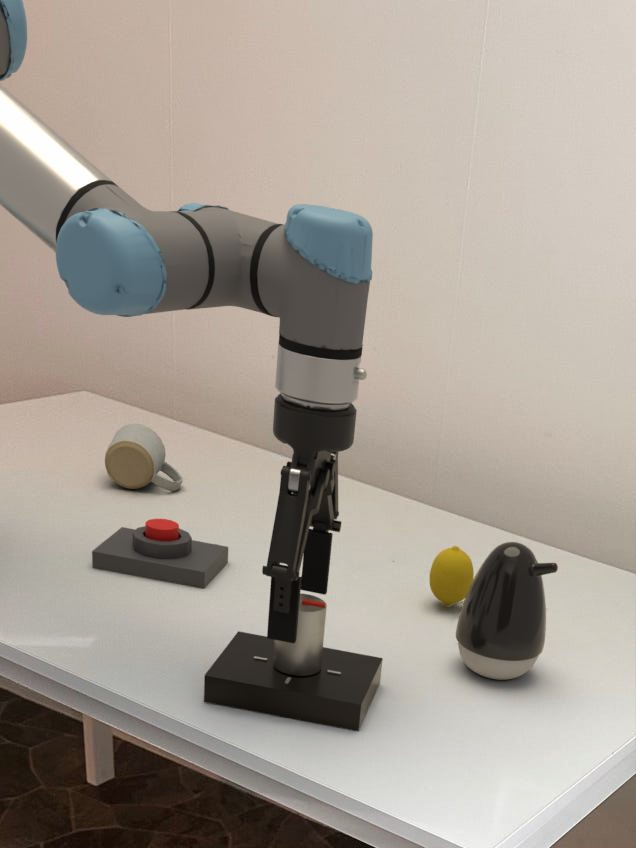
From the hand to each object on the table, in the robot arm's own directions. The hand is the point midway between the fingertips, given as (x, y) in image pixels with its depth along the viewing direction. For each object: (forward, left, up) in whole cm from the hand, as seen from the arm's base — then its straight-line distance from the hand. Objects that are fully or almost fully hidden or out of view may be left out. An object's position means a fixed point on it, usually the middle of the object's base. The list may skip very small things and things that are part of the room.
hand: (298, 614), depth 120 cm
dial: (0, 0, -6) cm, 6 cm away
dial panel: (0, 0, -9) cm, 9 cm away
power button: (-24, +28, -5) cm, 37 cm away
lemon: (+12, +32, -9) cm, 35 cm away
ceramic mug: (-37, +58, -9) cm, 69 cm away
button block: (-24, +28, -9) cm, 38 cm away
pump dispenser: (+20, +15, -9) cm, 27 cm away
